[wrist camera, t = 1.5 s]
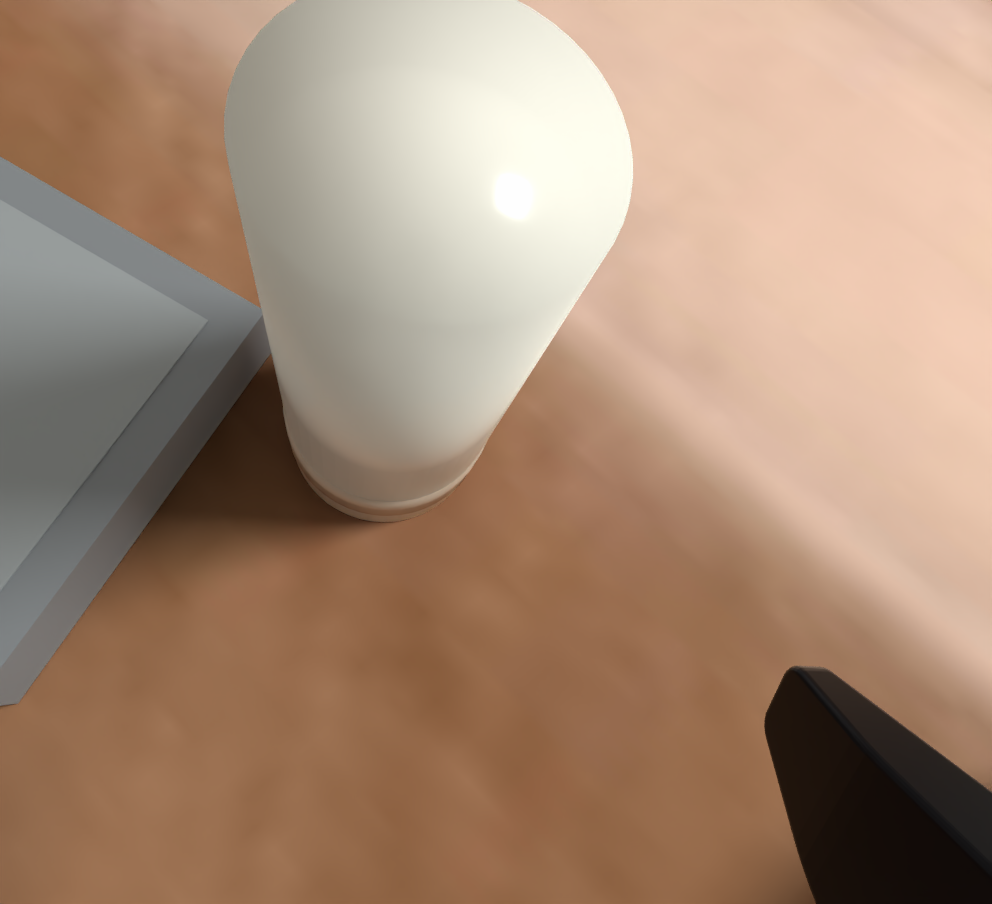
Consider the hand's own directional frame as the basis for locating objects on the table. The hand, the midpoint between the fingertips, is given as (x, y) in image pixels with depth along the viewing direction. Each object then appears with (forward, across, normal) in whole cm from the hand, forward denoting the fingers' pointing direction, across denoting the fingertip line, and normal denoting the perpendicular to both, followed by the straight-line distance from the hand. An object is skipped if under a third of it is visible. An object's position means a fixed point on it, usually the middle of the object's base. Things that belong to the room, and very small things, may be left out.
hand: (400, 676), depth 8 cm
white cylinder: (+14, 0, +4) cm, 14 cm away
